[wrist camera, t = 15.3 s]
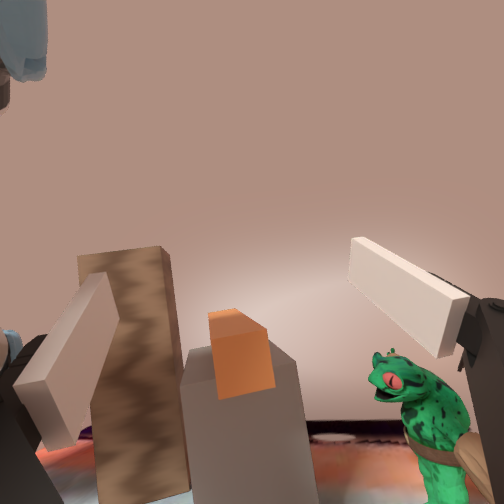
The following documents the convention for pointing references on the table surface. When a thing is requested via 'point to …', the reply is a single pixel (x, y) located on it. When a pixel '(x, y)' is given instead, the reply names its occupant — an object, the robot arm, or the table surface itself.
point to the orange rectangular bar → (239, 354)
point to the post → (139, 382)
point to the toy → (433, 429)
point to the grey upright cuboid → (247, 437)
